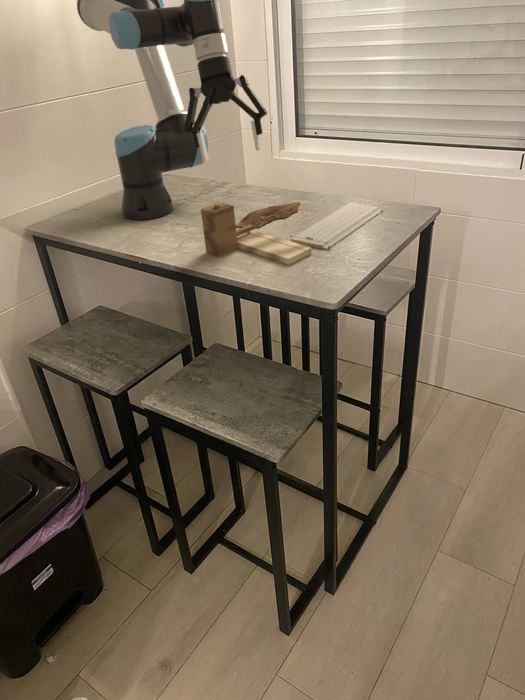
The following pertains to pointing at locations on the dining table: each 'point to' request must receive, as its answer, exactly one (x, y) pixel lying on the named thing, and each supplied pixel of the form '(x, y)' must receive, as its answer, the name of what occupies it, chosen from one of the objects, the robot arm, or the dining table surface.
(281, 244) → the board
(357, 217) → the baseboard molding
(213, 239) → the block
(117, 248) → the dining table surface
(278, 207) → the wooden fragment
